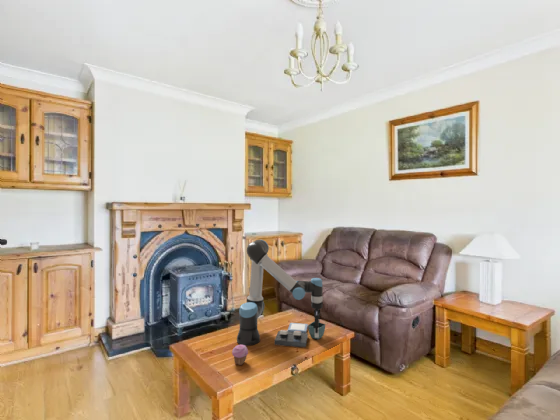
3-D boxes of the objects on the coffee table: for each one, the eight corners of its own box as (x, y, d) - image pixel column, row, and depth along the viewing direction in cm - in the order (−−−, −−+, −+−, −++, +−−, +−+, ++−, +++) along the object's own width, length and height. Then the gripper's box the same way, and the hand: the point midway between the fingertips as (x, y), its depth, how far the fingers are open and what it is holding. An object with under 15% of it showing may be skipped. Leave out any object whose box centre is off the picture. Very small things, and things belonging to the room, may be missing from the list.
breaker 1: (279, 334, 197) (279, 330, 197) (281, 333, 204) (281, 329, 205) (286, 334, 196) (286, 330, 197) (288, 333, 203) (288, 330, 204)
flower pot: (319, 342, 199) (319, 328, 198) (307, 338, 204) (307, 325, 204) (325, 337, 206) (325, 324, 205) (314, 333, 211) (314, 321, 211)
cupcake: (229, 364, 171) (229, 346, 171) (238, 357, 178) (238, 340, 178) (241, 368, 166) (241, 350, 166) (251, 361, 174) (251, 344, 174)
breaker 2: (293, 335, 195) (293, 331, 196) (294, 334, 203) (295, 330, 203) (300, 335, 194) (300, 331, 195) (301, 335, 202) (301, 331, 203)
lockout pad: (287, 332, 214) (287, 329, 214) (290, 324, 226) (290, 322, 226) (306, 333, 211) (306, 331, 211) (307, 325, 224) (307, 323, 224)
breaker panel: (274, 344, 194) (274, 338, 194) (278, 335, 208) (278, 329, 208) (305, 347, 191) (305, 340, 191) (307, 337, 205) (307, 331, 205)
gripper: (322, 308, 191) (322, 341, 192) (323, 296, 216) (323, 325, 216) (310, 307, 193) (310, 340, 193) (312, 295, 217) (312, 325, 218)
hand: (317, 333), depth 205 cm, fingers open, 13 cm apart
